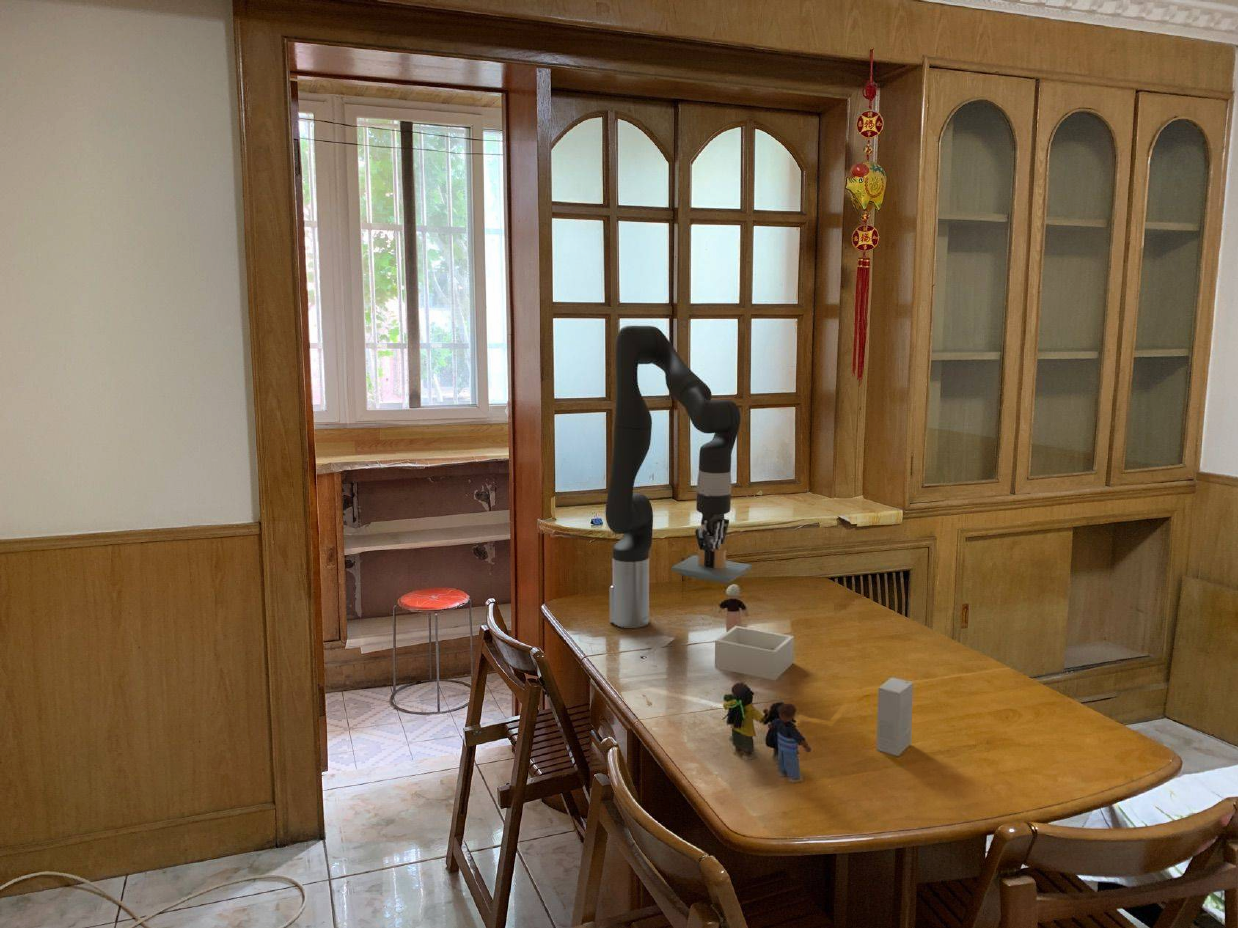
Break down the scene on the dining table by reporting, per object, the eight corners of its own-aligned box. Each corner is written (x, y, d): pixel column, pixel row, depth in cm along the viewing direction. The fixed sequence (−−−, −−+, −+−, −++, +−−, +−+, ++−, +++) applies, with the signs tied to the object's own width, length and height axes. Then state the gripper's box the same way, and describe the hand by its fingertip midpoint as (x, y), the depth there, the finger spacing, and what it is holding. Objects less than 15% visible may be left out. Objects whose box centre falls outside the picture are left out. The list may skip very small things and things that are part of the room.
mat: (640, 657, 205) (640, 655, 205) (669, 638, 217) (669, 636, 217) (703, 671, 197) (703, 669, 197) (729, 650, 209) (729, 648, 209)
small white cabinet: (714, 670, 198) (715, 640, 196) (735, 654, 207) (735, 625, 206) (774, 683, 190) (775, 652, 189) (793, 666, 200) (793, 636, 199)
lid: (671, 574, 200) (672, 549, 199) (693, 562, 210) (694, 538, 208) (730, 586, 193) (731, 560, 192) (751, 572, 202) (752, 547, 201)
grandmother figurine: (747, 632, 222) (748, 582, 219) (748, 637, 218) (749, 587, 216) (716, 631, 222) (717, 582, 220) (716, 636, 219) (717, 586, 216)
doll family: (834, 773, 153) (837, 700, 151) (804, 793, 147) (806, 717, 144) (728, 730, 169) (729, 663, 167) (697, 746, 163) (697, 677, 161)
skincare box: (888, 737, 166) (891, 676, 164) (911, 744, 163) (914, 682, 161) (875, 749, 161) (877, 686, 159) (898, 757, 158) (901, 693, 156)
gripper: (711, 483, 205) (708, 555, 208) (684, 493, 194) (682, 570, 197) (741, 487, 202) (738, 561, 205) (716, 498, 190) (713, 576, 193)
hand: (711, 565), depth 201 cm, fingers closed on lid, 1 cm apart
